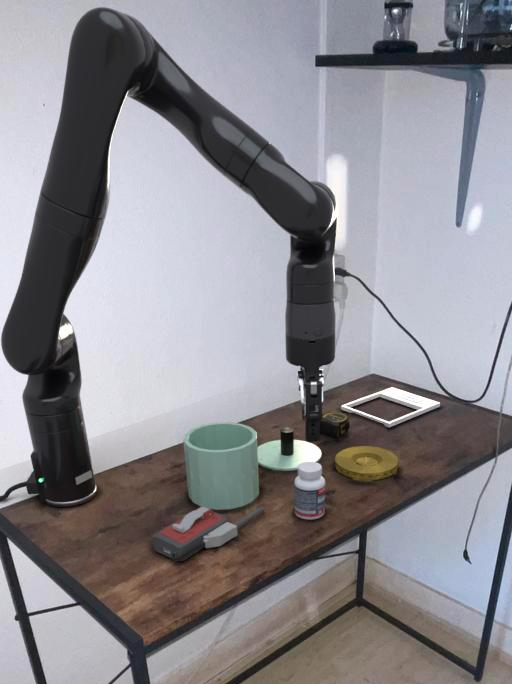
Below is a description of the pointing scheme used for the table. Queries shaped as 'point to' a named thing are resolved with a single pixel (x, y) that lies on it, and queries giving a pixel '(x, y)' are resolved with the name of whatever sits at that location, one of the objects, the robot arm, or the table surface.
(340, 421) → the tape measure
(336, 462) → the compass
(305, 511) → the pill bottle
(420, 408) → the photo frame
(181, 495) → the table surface
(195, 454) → the cylindrical container
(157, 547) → the walkie-talkie
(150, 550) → the table surface
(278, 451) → the lid
